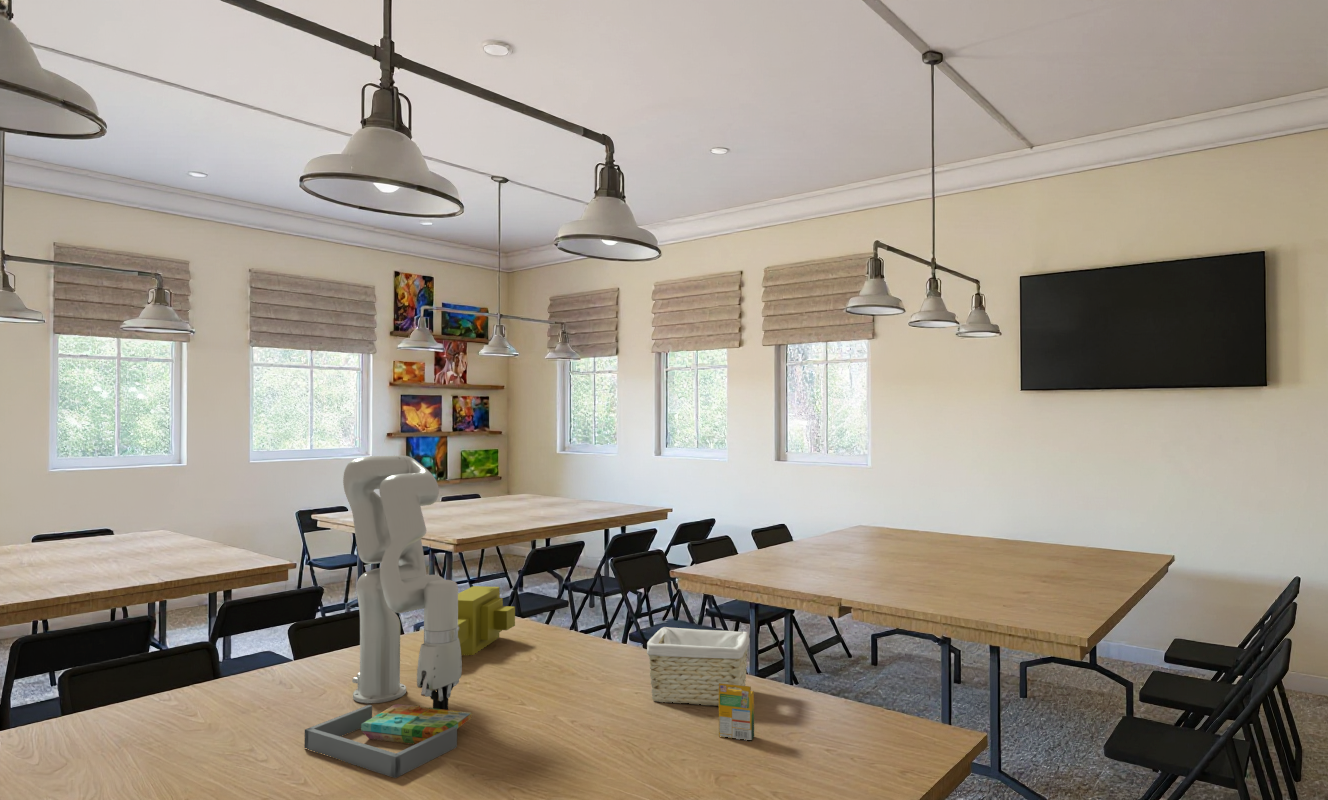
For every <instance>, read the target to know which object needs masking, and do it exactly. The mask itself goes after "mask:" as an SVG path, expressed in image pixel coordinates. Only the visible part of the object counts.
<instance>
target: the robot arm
mask: <svg viewBox="0 0 1328 800" xmlns="http://www.w3.org/2000/svg"><path fill="white" fill-rule="evenodd" d="M342 476H343V477H342V478H343V479H342V483H343V490H344V494H345V496H346V500H347V501H348V504H349V507H350V509H351V513H352V520H353V526H354V528H353V529H354V534H355V535H354V536H355V542H356V547H357V553H358V557H359V559H360V561H361V562H363V563H364V564H371V565H372V564H373V565H374V564H380V568H379V567H377V568H374V569H371V570H370V569H369V570H367V571H365V572H364V573H362V574H361V575H360V576H359V578H358V579H357V581H356V584H355V585H356V586H355V588H356V589H355V590H356V597H357V602H358V610H359V672H358V673H357V674H356V676H354V677H353V678H352V679H351V680H352V683H353V684H357V688H356V689H355V690H354V691H353V693H352V699H353V700H354V701H355V702H358V703H362V704H380V703H381V704H382V703H386V702H387V703H388V702H391V701H394V700H398V699H399V698H401V697H403V696H404V695H405V694H407V693H406V692H407V686H406V685H405V684H403V683H401V621H400V619H399V616H398V615H397V614H404V613H408V612H413V611H417V610H418V611H419V610H423V643H421V645H420V649H419V653H418V659H417V669H416V670H417V671H416V686H417V688H419V689H421V694H420V695H421V696H422V697H424V698H425V697H426V698H429V697H430V700H432V708H435V709H444V710H449V699H450V698H451V693H452V690H453V688H454V687H455V686H457V685H458V684H459V683H460V679H461V678H462V672H463V671H462V670H463V667H462V666H463V663H462V661H463V660H462V655H461V648H460V642H459V638H458V630H459V626H458V593H459V586H458V583H457V582H456V581H453V580H451V579H445V578H444V577H442V576H440V575H438V574H428V575H427V568H426V561H425V556H424V555H425V554H424V549H423V542H422V538H423V537H425V535H426V534H427V527H426V523H425V518H424V515H423V510H422V508H421V507H425V506H426V507H427V506H431V505H433V504H435V503H436V501H437V500H438V498H439V493H440V489H439V484H438V482H437V479H436V478H435V476H434V475H433V473H431V471H430V470H429V469H428V468H426V467H425V466H424V465H422V464H421V463H420V462H418V460H416V459H414V458H413V457H411V456H408V455H372V456H363V457H359V458H354V459H353V460H351V461H349V463H347V465H346V466H345V469H344V471H343V475H342ZM375 490H379V494H378V493H376V492H375Z"/></svg>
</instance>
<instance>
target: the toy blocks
mask: <svg viewBox="0 0 1328 800" xmlns="http://www.w3.org/2000/svg"><path fill="white" fill-rule="evenodd" d="M500 590H501V589H500V586H485V585H484V586H482V585H481V586H480V585H473V586H470V587H469V588H466V589H465V590H463V591H460V592H458V626H459V630H458V638H459V642H460V648H461V656H469V655H473V656H474V655H476V654H477V653H479V652H480V651H482V650H483V649H485V648H487V645H488V646H489V645H491V644H492V643H494V642H495V641H496V640H498V639H500V633H501V632H502V631H508V630H510V629H511V628H514V627H515V626H516V606H511V605H510V606H509V605H508V606H507V605H504V603H503V602H504V601H503V599H504V598H502V597H501V596H500V595H501V593H500ZM497 638H498V639H497ZM484 647H485V648H484ZM481 649H482V650H481ZM478 651H479V652H478ZM475 653H476V654H475Z"/></svg>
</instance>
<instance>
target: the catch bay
mask: <svg viewBox="0 0 1328 800" xmlns="http://www.w3.org/2000/svg"><path fill="white" fill-rule="evenodd" d="M371 718H373V705H371V704H367V705H364V706H362V707H359V708H357V709H355V710H352V711H349V712H347V713H344V714H340V715H339V716H336V717H334V718H331V719H328V720H326V721H324V722H321V723H318V724H315V725H313V726H311V727H308V728H306V729H304V745H303V746H304V748H307V749H309V750H312V751H315V752H314V753H316V752H318V753H317V754H319V753H322V754H325V755H328V756H331V757H334V758H337V759H340V760H342V761H341V762H343V761H345V762H344V763H347V762H348V763H347V764H350V763H351V764H350V765H354V766H356V765H357V766H356V767H359V766H360V767H359V768H362V767H363V768H362V769H365V768H366V770H369V771H372V772H375V773H378V774H381V775H384V776H388V777H391V778H394V779H397V778H399V777H402V775H405V774H406V773H408V772H411V771H412V770H415V769H417V768H418V767H421V766H422V765H424V764H427V763H429V762H430V761H432V760H434V759H437V758H439V757H440V756H443V755H444V754H446V753H448V752H450V751H452V750H454V749H456V748H457V747H458V728H455V727H451V728H449V729H447V730H445V731H443V732H441V733H439V734H436V735H434V736H432V737H430V738H428V739H426V740H424V741H422V742H419V743H417V744H412V745H411V746H409V747H407V748H405V749H403V750H401V751H398V752H396V753H395V752H394V751H393V752H392V751H389V750H386V749H383V748H379V747H375V746H372V745H369V744H366V743H363V742H359V741H356V740H352V739H350V738H345V737H343V736H345V734H346V735H348V734H351V733H353V732H355V731H357V729H358V730H361V724H362V723H364V722H366V721H367V720H369V719H371ZM352 731H353V732H352ZM350 732H351V733H350ZM347 733H348V734H347ZM342 735H343V736H342ZM340 736H341V737H340ZM309 750H308V751H309ZM312 751H311V752H312ZM322 754H321V755H322ZM325 755H324V756H325ZM328 756H327V757H328ZM331 757H330V758H331ZM334 758H333V759H334ZM337 759H336V760H337ZM340 760H339V761H340Z"/></svg>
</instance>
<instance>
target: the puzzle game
mask: <svg viewBox="0 0 1328 800" xmlns="http://www.w3.org/2000/svg"><path fill="white" fill-rule="evenodd" d="M472 718H473V713H472V712H467V711H459V710H450V709H448V710H444V709H435V708H433V707H426V706H425V707H424V706H421V705H418V704H417V705H410V704H400V703H396V704H393V705H392V706H389V707H388V708H386V709H384V710H383V711H381V712H379V713H378V714H375V715H374V716H372V718H371V719H369V720H367V721H366V722H364V723H362V724H361V728H360V730H361V732H362V733H363V734H364V736H366V737H367V738H368V740H374V739H377V740H376V741H382V740H384V742H391V741H392V743H393V742H394V743H399V742H401V743H400V744H407V743H409V745H415V744H417V743H419V742H422V741H424V740H426V739H428V738H430V737H432V736H434V735H436V734H439V733H441V732H443V731H445V730H447V729H449V728H451V727H455V728H457V729H459V728H460V727H462V726H463V725H464V724H466V723H467V722H468V721H470V720H472Z"/></svg>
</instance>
